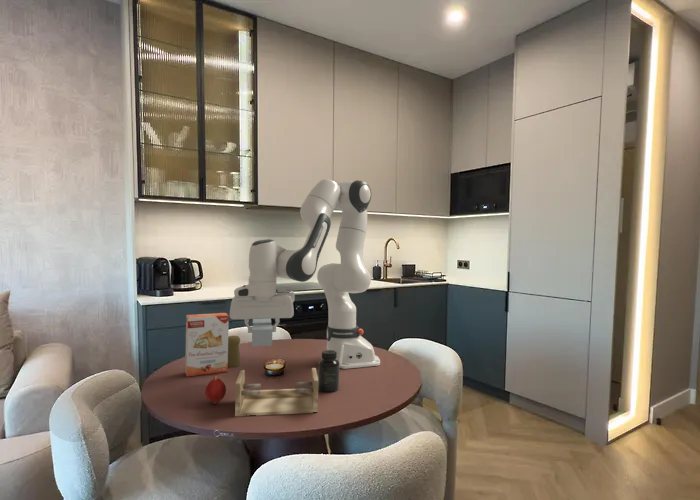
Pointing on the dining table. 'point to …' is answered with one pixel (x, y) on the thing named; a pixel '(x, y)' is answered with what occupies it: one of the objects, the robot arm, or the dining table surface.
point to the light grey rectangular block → (262, 332)
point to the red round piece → (215, 390)
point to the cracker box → (206, 344)
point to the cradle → (275, 398)
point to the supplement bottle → (328, 372)
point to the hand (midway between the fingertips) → (262, 332)
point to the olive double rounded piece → (233, 351)
